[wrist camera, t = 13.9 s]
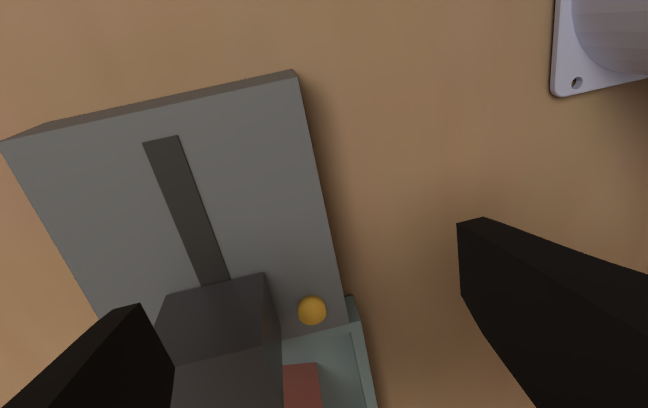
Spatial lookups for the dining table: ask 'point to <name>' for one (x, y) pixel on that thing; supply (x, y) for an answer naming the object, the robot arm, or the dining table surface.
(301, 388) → the block
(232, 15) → the dining table surface
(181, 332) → the switch
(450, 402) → the dining table surface
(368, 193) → the dining table surface
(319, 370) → the tray
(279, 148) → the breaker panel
